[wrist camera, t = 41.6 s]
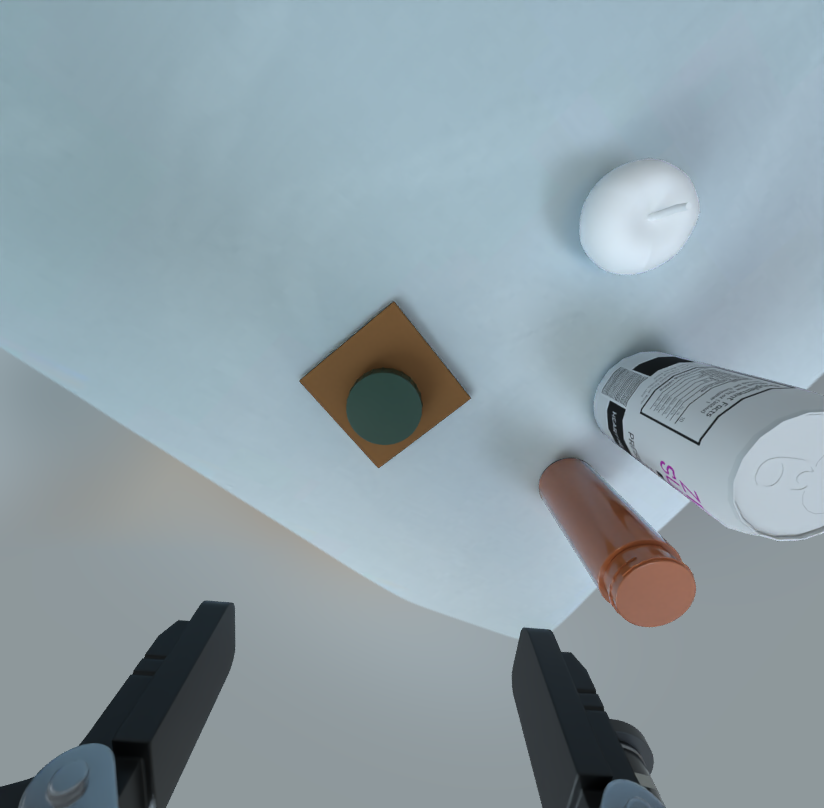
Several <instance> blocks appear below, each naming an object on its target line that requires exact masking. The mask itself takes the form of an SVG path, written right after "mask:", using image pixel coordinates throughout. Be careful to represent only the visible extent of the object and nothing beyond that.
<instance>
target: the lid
mask: <svg viewBox="0 0 824 808" xmlns="http://www.w3.org/2000/svg"><path fill="white" fill-rule="evenodd" d="M349 392H350V393H349V396H348V398H347V400H346V401H347V404H346V413H347V418H348V421H349V423H350V425H351V427H352V428H353V430H354V431H355V432H356V433H357V434H358V435H359V436H360V437H362V438H363V439H365V440H366V441H368V442H371V443H374V444H379V445H391V444H396V443H398V442H401V441H403V440H405V439H406V438H408V437H409V436H410V435H411V434H412V433H413V432H414V431H415V430H416V428H417V426H418V425H419V422H420V419H421V416H422V407H423V403H422V401H421V392H419V390H418V388H417V384H415V383H414V381H413V380H412V379H411V377H410V376H407V375H406V374H404V373H403V371H398V370H395V369H393V368H392V369H391V368H384V367H382V368H378V369H372V370H371V371H369V372H367V373H364V374H363V376H361V377H360V378H359V379H357V380H356V382H355V384H354V386H353V387H351V389H350V391H349Z"/></svg>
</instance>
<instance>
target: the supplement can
mask: <svg viewBox="0 0 824 808" xmlns="http://www.w3.org/2000/svg"><path fill="white" fill-rule="evenodd" d="M593 404H594V415H595V420H596V422H597V424H598V426H599V428H600V430H601V432H602V433H603V434H605V435H606V436H607V437H608V438H609V439H611V440H612V441H613V442H614V443H616V444H617V445H618V446H620V447H621V448H622V449H624V450H625V451H626V452H627V453H629V454H630V455H631V456H633V457H634V458H635V459H637V460H638V461H639V462H641V463H642V464H643V465H645V466H646V467H647V468H649V469H650V470H651V471H653V472H654V473H655V474H657V475H658V476H659V477H661V478H662V479H663V480H665V481H666V482H667V483H668V484H670V485H671V486H672V487H674V488H675V489H676V490H678V491H679V492H680V493H682V494H683V495H684V496H686V497H687V498H688V499H690V500H691V501H692V502H694V503H695V504H696V505H698V506H699V507H700V508H702V509H703V510H704V511H706V512H707V513H708V514H710V515H711V516H712V517H713V518H715V519H716V520H717V521H719V522H720V523H721V524H723V525H724V526H725V527H727V528H731V529H734V530H737V531H740V532H744V533H747V534H751V535H758V536H763V537H766V538H769V539H773V540H776V541H793V540H804V539H807V538H810V537H813V536H816V535H819V534H822V533H824V395H822V394H819V393H816V392H813V391H810V390H806V389H803V388H799V387H795V386H791V385H787V384H783V383H779V382H775V381H772V380H768V379H764V378H760V377H756V376H752V375H748V374H744V373H740V372H737V371H733V370H729V369H725V368H721V367H717V366H713V365H709V364H706V363H702V362H698V361H694V360H690V359H686V358H682V357H678V356H674V355H671V354H667V353H663V352H659V351H657V352H640V353H637V354H634V355H632V356H629V357H626V358H624V359H622V360H621V361H620V362H618V363H617V364H616V365H615V366H613V367H612V368H611V369H610V370H608V372H607V373H606V375H605V376H604V378H603V379H602V381H601V382H600V383H599V385H598V387H597V391H596V395H595V398H594V402H593Z"/></svg>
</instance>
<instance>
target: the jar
mask: <svg viewBox="0 0 824 808" xmlns="http://www.w3.org/2000/svg"><path fill="white" fill-rule="evenodd" d="M539 493H540V496H541V498H542V500H543V502H544V503H545V505H546V506H547V508H548V510H549V511H550V513H551V514H552V516H553V518H554V519H555V521H556V522H557V524H558V526H559V527H560V529H561V530H562V532H563V534H564V535H565V537H566V538H567V540H568V542H569V543H570V545H571V546H572V548H573V550H574V551H575V553H576V554H577V556H578V558H579V559H580V561H581V562H582V564H583V566H584V567H585V569H586V570H587V572H588V574H589V575H590V577H591V578H592V580H593V582H594V583H595V585H596V586H597V588H598V590H599V591H600V592H601V594H602V596H603V597H604V598H605V599H606V600H607V601H608V602H609V603H611V604H612V606H613V607H614V609H615V610H616V611H617V613H619V614H620V615H621V616H622V617H623V618H624V619H625V620H627V621H628V622H630V623H632V624H634V625H638V626H642V627H655V626H661V625H665V624H668V623H670V622H672V621H674V620H676V619H677V618H679V617H680V616H681V615H683V614H684V613H685V612H686V611H687V610H688V608H689V607H690V605H691V604H692V602H693V600H694V597H695V593H696V585H695V580H694V577H693V574H692V572H691V571H690V569H689V567H688V566H687V565H685V564H684V563H683V562H682V560H681V558H680V556H679V554H678V552H677V551H676V550H675V549H674V548H673V547H672V546H671V545H670V544H669V543H668V542H667V541H666V540H665V539H664V538H663V537H662V536H661V535H660V534H659V533H658V532H657V531H656V530H655V529H654V528H653V527H652V526H651V525H650V524H649V523H648V522H647V521H646V520H645V519H644V518H643V517H642V516H641V515H640V514H639V513H638V512H637V511H636V510H635V509H634V508H633V507H632V506H631V505H630V504H629V503H628V502H627V501H626V500H625V499H623V498H622V497H621V496H620V495H619V494H618V493H617V492H616V491H615V490H614V489H613V488H612V487H611V486H610V485H609V484H608V483H607V482H606V481H605V480H604V479H603V478H602V477H601V476H600V475H599V474H598V473H597V472H596V471H595V470H594V469H593V468H592V467H591V466H590V465H589V464H588V463H586V462H585V461H583V460H580V459H575V458H567V459H562V460H559V461H556V462H555V463H553V464H551V465H550V466H549V467H548V468H547V469H546V470H545V471H544V472H543V474H542V476H541V478H540V481H539Z"/></svg>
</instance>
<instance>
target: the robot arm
mask: <svg viewBox="0 0 824 808" xmlns="http://www.w3.org/2000/svg"><path fill="white" fill-rule="evenodd" d="M234 653H235V606H234V603H229V602H218V601H204V602H203V603H201V605H200V606H199V608H198V609H197V611H196V612H195V614H194V615H193V617H192V618H191V620H190V621H180V620H178V621H177V622H175V623H174V624H173V625H172V626H170V627H169V628H168V629H167V630H165V631H164V632H163V633H162V634H160V635H159V636H158V638H157V639H156V640H155V642H154V643H153V645H152V646H151V647H150V649H149V650H148V651H147V653H146V654H145V657H144V659H142V660H141V661H140V662H139V664H138V665H137V667H136V668H135V670H134V672H133V674H132V675H130V676H129V678H128V679H127V680H126V682H125V683H124V685H123V686H122V687H121V689H120V690H119V692H118V693H117V694H116V696H115V697H114V699H113V700H112V701H111V703H110V704H109V705H108V707H107V708H106V710H105V711H104V712H103V714H102V715H101V717H100V718H99V719H98V721H97V722H96V723H95V725H94V726H93V728H92V729H91V731H90V732H89V733H88V735H87V736H86V737H85V739H84V740H83V741H82V742H81V744H80V745H79V746H77V747H75V748H72V749H70V750H68V751H66V752H64V753H62V754H61V755H59V756H58V757H56V758H55V759H53V760H52V761H51V762H49V764H47V765H46V766H45V767H44V768H42V769H41V770H40V771H39V772H38V773H37V775H36V776H35V777H33V778H30V779H27V780H24V781H21V782H17V783H13V784H10V785H6V786H2V787H0V808H166V806H167V804H168V802H169V800H170V797H171V795H172V793H173V791H174V789H175V787H176V785H177V782H178V780H179V778H180V776H181V774H182V772H183V770H184V768H185V765H186V763H187V761H188V759H189V757H190V755H191V753H192V751H193V748H194V746H195V744H196V742H197V740H198V738H199V736H200V733H201V731H202V729H203V727H204V725H205V723H206V721H207V718H208V716H209V714H210V712H211V710H212V708H213V706H214V704H215V701H216V699H217V697H218V695H219V693H220V691H221V689H222V686H223V684H224V682H225V680H226V678H227V676H228V674H229V671H230V669H231V666H232V662H233V658H234ZM512 688H513V695H514V699H515V703H516V707H517V710H518V714H519V718H520V722H521V726H522V730H523V734H524V738H525V741H526V745H527V749H528V753H529V756H530V761H531V765H532V768H533V772H534V776H535V780H536V784H537V788H538V792H539V796H540V800H541V803H542V807H543V808H666V807H665V805H664V803H663V801H662V799H661V797H660V794H659V792H658V790H657V788H656V786H655V784H654V782H653V780H652V778H651V777H650V774H649V772H648V770H647V768H646V765H645V762H644V760H643V758H642V756H641V754H640V752H639V751H638V750H637V749H636V748H635V747H633V746H632V745H630V744H628V743H626V742H623V741H619V739H618V736H617V734H616V732H615V730H614V728H613V726H612V724H611V721H610V719H609V717H608V715H607V713H606V712H605V711H604V706H603V704H602V702H601V700H600V698H599V696H598V694H596V689H595V687H594V685H593V683H592V681H591V679H590V677H589V674H588V672H587V670H586V669H585V668H584V667H583V666H582V665H581V663H580V662H579V661H578V660H577V659H576V658H575V657H574V655H573V654H572V653H569V652H561V651H560V648H559V646H558V643H557V641H556V639H555V636H554V634H553V632H552V631H551V630H549V629H536V628H522V630H521V633H520V638H519V642H518V647H517V651H516V656H515V660H514V665H513V671H512Z"/></svg>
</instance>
